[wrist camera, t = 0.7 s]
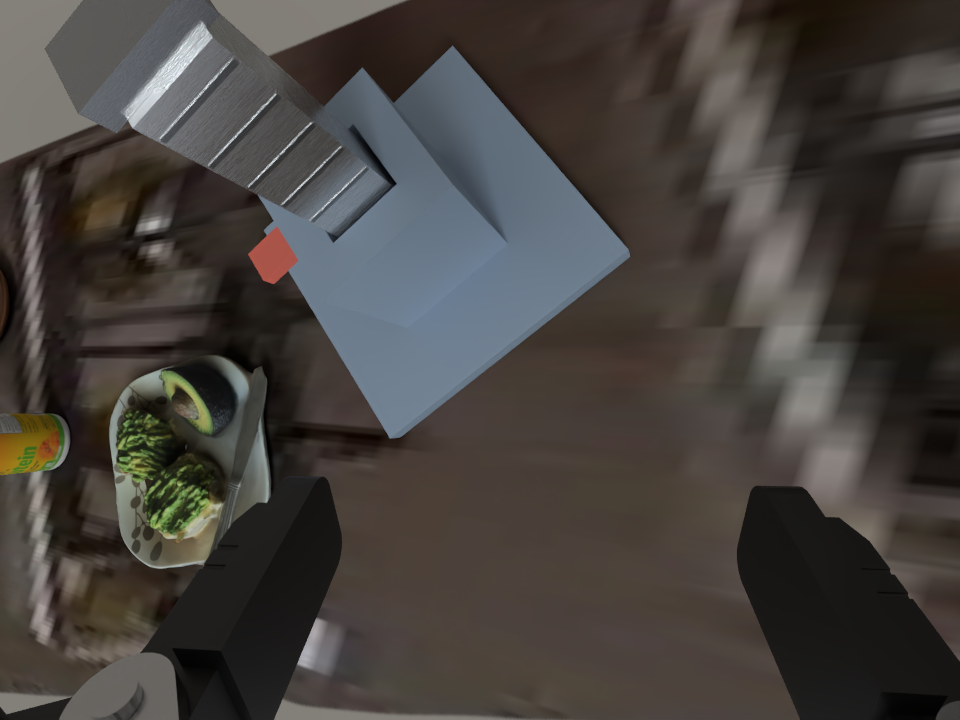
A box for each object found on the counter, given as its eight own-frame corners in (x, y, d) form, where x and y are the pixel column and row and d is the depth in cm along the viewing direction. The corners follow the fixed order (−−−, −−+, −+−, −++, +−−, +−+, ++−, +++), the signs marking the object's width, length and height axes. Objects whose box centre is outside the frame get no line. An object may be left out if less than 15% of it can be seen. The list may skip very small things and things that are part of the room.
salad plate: (310, 583, 39) (266, 605, 34) (140, 604, 44) (83, 625, 40) (277, 337, 42) (232, 329, 38) (122, 385, 47) (67, 383, 43)
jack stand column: (431, 190, 36) (139, -86, 16) (463, 233, 34) (192, -6, 15) (376, 239, 37) (40, 40, 17) (406, 282, 36) (82, 123, 16)
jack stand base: (460, 59, 38) (385, -72, 28) (630, 256, 33) (615, 186, 22) (277, 236, 42) (153, 180, 32) (400, 437, 37) (299, 448, 27)
